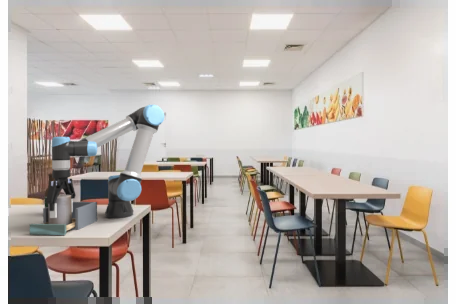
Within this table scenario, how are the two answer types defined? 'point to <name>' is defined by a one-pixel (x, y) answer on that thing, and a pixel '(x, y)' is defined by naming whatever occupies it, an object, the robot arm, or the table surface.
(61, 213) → the pillar candle
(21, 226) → the table surface
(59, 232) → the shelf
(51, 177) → the beer bottle
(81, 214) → the cradle
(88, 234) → the table surface
